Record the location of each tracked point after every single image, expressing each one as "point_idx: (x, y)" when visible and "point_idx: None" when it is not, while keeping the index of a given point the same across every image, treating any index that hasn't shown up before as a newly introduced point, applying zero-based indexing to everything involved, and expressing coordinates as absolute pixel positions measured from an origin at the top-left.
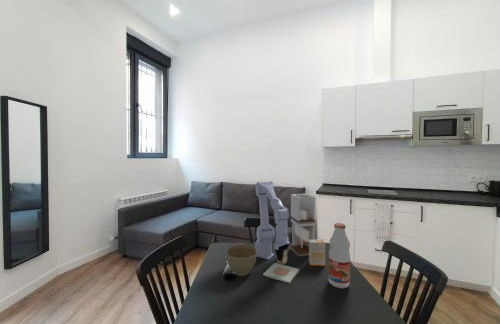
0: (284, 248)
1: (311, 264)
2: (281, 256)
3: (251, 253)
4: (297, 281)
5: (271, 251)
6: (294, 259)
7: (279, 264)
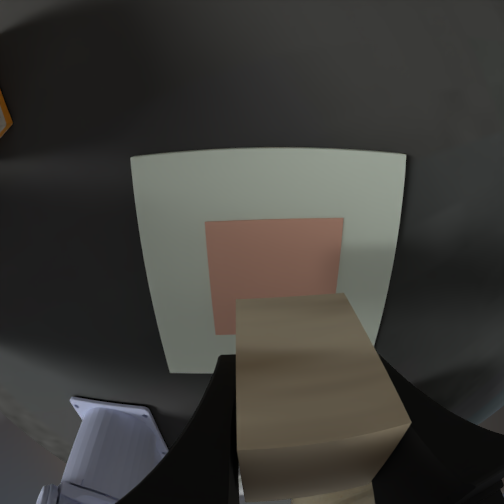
0: (493, 477)
1: (4, 115)
2: (406, 387)
3: (298, 498)
4: (339, 98)
5: (89, 427)
6: (14, 271)
7: (168, 338)
